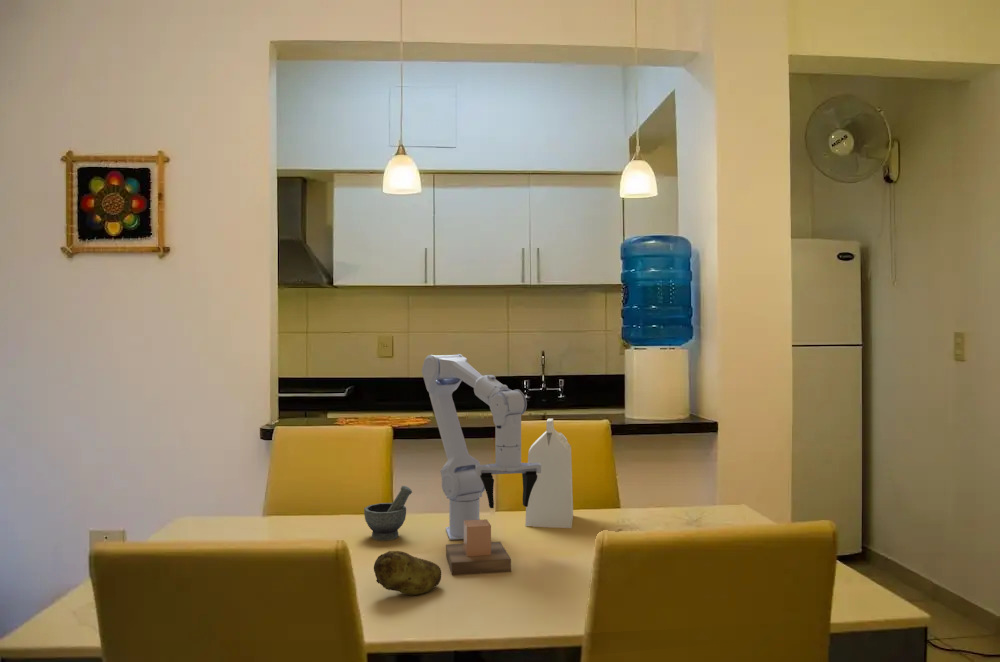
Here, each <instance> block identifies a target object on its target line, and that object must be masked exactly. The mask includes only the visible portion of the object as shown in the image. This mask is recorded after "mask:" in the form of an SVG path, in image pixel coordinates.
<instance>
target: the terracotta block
mask: <svg viewBox="0 0 1000 662" xmlns="http://www.w3.org/2000/svg"><path fill="white" fill-rule="evenodd" d="M491 542H492V525H491V524H490V522H489V520H488V519H485V518H483V519H480V520H465V521H464V539H463V544H464V551H465V553H466V555H467V556H479V555H491Z"/></svg>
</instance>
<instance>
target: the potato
mask: <svg viewBox="0 0 1000 662" xmlns="http://www.w3.org/2000/svg"><path fill="white" fill-rule="evenodd" d="M373 572H374V576H375V578H376V583H377V584H380V585H381V586H382V587H383V588H384V589H385V590H388V591H395V592H399V593H400V594H401V593H402V594H403V595H407V596H408V595H409V596H417V595H423V594H425V593H428V592H430V591H432V590H433V589H434V588H436V587H437V586H438V585H439V584H440V582H441V580H442V569H441V567H440V566H439V565H438V564H437V563H435V562H433V561H430V560H427V559H425V558H424V559H423V558H419V557H418V556H413V555H411V554H409V553H408V552H406V551H401V550H391V551H390V550H389V551H387V552H385V553H382V554H380V555H379V556H377V558H376V560H375V561H374V565H373Z"/></svg>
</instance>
